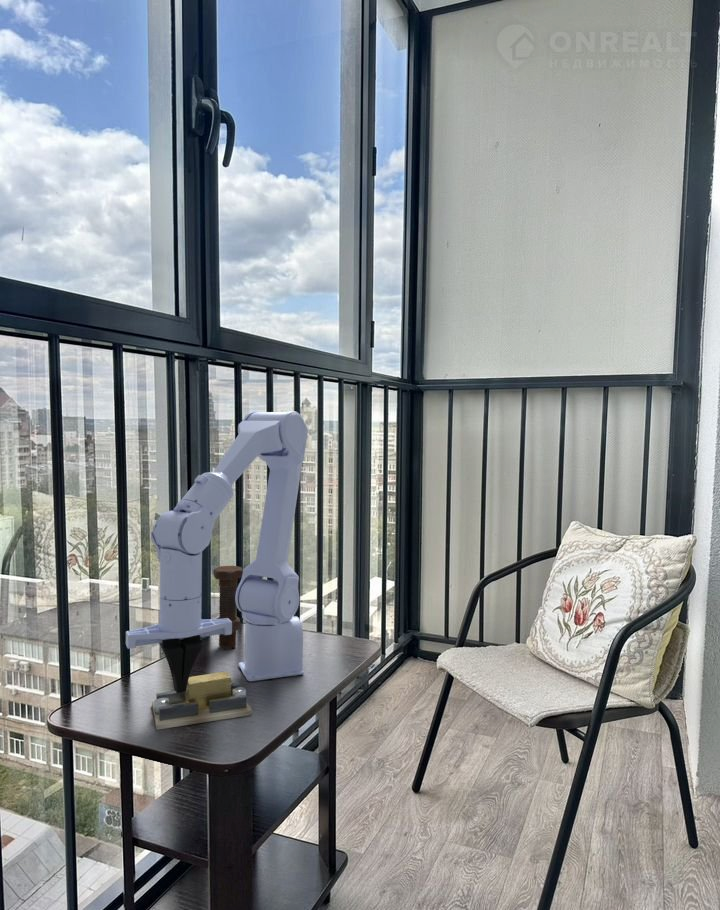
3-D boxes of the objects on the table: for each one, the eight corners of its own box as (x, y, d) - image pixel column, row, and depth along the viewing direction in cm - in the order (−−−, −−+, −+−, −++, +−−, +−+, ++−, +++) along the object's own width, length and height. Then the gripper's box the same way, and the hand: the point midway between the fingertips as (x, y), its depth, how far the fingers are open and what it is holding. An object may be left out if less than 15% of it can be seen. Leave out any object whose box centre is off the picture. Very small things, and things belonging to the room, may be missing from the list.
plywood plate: (240, 693, 96) (240, 689, 96) (251, 714, 89) (251, 710, 89) (152, 705, 91) (152, 701, 91) (156, 729, 84) (156, 725, 84)
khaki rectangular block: (225, 697, 93) (226, 671, 93) (230, 704, 91) (231, 677, 91) (185, 704, 90) (185, 677, 90) (189, 712, 88) (189, 684, 88)
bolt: (231, 640, 121) (231, 564, 120) (248, 646, 117) (249, 567, 117) (206, 648, 116) (207, 568, 116) (223, 654, 113) (224, 572, 112)
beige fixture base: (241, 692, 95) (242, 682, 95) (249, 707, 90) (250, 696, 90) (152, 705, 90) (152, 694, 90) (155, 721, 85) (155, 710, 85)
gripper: (222, 584, 95) (221, 671, 96) (122, 594, 88) (121, 688, 89) (236, 595, 89) (235, 688, 90) (130, 606, 82) (130, 708, 82)
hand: (179, 689), depth 89 cm, fingers closed
